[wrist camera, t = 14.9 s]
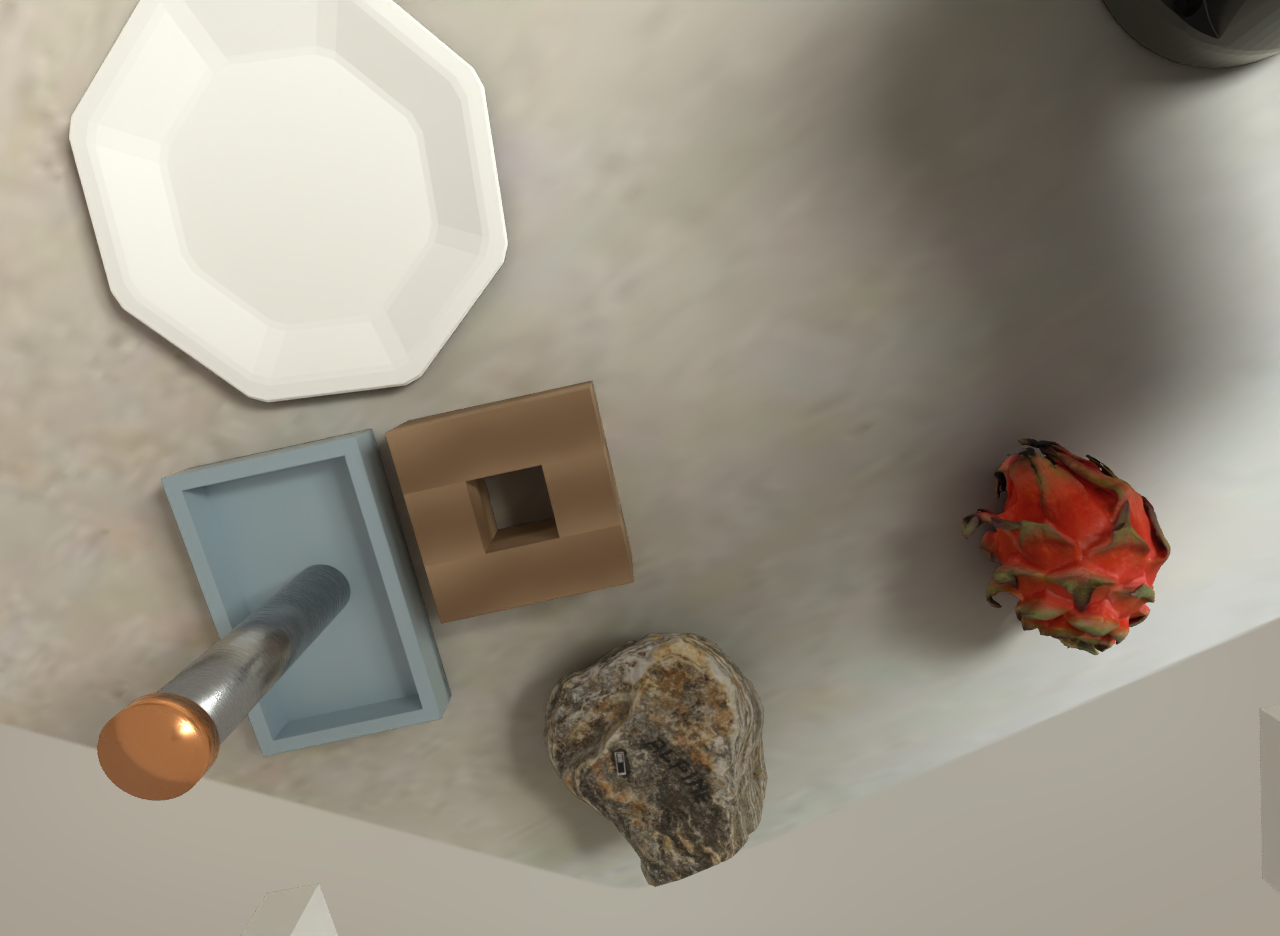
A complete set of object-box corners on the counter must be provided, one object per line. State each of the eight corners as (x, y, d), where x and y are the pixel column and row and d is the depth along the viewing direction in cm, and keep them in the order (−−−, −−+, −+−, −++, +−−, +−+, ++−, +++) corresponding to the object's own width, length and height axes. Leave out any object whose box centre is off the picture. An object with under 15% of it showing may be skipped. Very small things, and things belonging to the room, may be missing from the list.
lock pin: (280, 566, 39) (81, 719, 25) (344, 552, 39) (183, 698, 25) (301, 626, 40) (119, 809, 26) (364, 613, 40) (218, 788, 26)
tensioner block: (408, 420, 39) (385, 433, 35) (592, 380, 38) (589, 389, 35) (457, 593, 41) (441, 623, 37) (631, 555, 41) (633, 582, 37)
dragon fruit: (1026, 621, 44) (962, 436, 43) (1198, 604, 39) (1128, 392, 38) (1001, 693, 37) (924, 476, 37) (1204, 684, 32) (1120, 430, 31)
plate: (161, 413, 38) (143, 417, 37) (50, 1, 34) (25, -13, 33) (530, 368, 39) (527, 370, 37) (467, -49, 34) (460, -64, 33)
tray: (189, 468, 39) (160, 479, 36) (371, 428, 39) (355, 436, 36) (283, 730, 42) (263, 756, 40) (451, 695, 42) (441, 719, 40)
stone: (498, 667, 38) (630, 728, 31) (631, 575, 45) (766, 608, 38) (564, 860, 42) (694, 953, 35) (677, 751, 49) (806, 810, 42)
